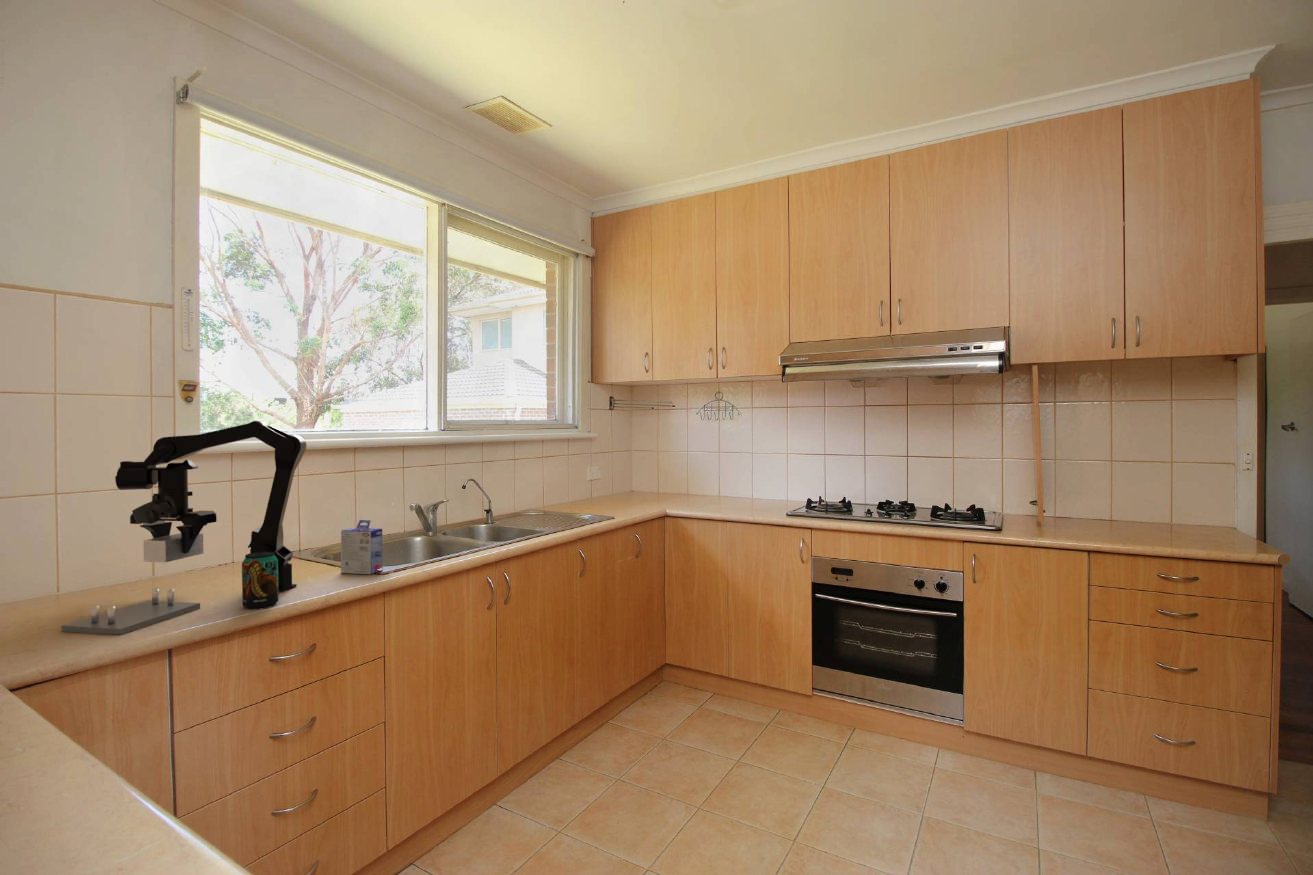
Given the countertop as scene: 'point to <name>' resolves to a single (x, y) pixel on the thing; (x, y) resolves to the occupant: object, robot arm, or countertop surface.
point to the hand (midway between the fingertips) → (174, 552)
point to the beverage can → (259, 580)
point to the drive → (170, 548)
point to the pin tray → (131, 615)
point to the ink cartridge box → (361, 549)
